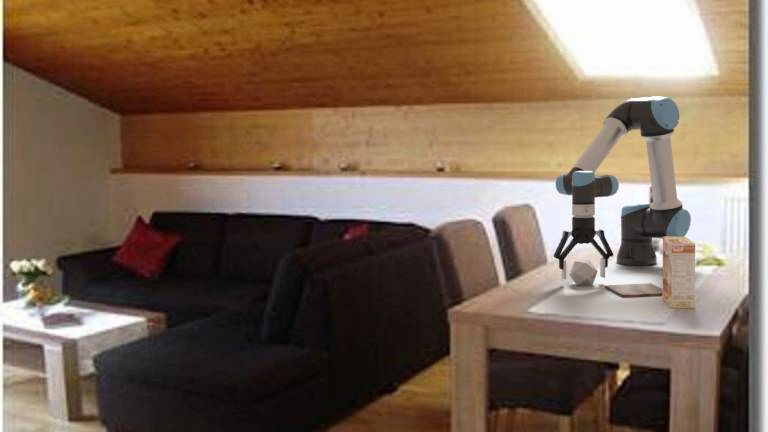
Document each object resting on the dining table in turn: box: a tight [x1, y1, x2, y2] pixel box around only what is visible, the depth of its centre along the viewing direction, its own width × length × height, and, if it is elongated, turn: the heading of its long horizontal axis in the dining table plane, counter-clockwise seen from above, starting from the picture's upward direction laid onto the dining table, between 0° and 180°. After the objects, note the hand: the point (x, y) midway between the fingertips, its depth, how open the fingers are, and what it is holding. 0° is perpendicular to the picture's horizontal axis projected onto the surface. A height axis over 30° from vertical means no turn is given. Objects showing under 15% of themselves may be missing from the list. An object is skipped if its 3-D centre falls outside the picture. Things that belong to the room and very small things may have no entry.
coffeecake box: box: [661, 236, 696, 309], centre depth 244 cm, size 15×7×20 cm, turn 170°
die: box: [569, 260, 598, 286], centre depth 277 cm, size 8×9×10 cm
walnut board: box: [604, 283, 663, 298], centre depth 263 cm, size 16×16×1 cm
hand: (583, 277), depth 277 cm, fingers open, 13 cm apart
